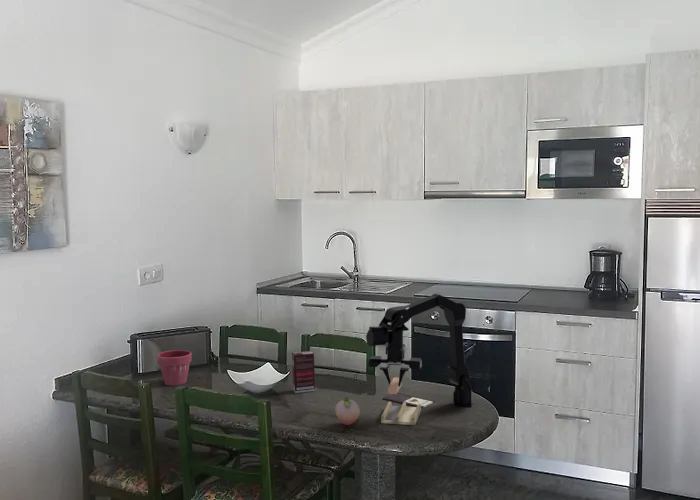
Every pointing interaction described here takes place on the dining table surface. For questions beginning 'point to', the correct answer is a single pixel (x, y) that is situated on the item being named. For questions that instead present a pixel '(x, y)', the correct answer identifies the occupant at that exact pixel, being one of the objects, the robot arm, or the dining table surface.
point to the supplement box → (303, 371)
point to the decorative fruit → (347, 411)
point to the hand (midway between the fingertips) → (395, 385)
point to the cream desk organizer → (400, 414)
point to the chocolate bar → (408, 400)
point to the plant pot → (174, 366)
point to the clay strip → (394, 386)
